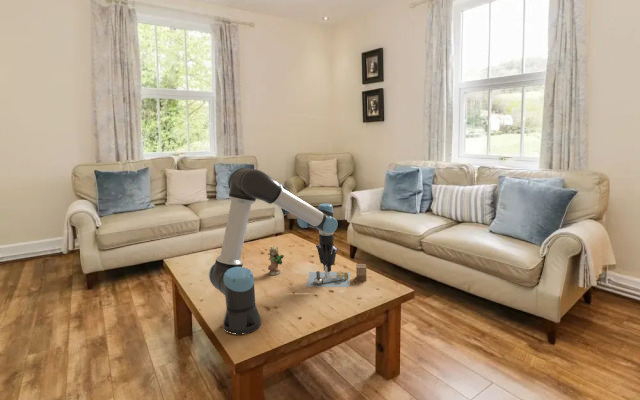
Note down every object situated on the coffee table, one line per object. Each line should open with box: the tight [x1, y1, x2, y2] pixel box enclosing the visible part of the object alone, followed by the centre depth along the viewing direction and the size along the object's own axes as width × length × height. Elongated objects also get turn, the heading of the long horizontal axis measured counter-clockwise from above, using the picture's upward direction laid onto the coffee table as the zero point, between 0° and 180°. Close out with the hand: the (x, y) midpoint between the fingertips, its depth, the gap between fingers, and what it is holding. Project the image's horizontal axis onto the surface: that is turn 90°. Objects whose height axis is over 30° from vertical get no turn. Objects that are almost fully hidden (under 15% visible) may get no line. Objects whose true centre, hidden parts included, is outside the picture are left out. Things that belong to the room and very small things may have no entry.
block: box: [355, 263, 367, 282], centre depth 192 cm, size 5×5×8 cm
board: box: [305, 270, 351, 288], centre depth 193 cm, size 19×22×7 cm
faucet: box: [314, 275, 343, 285], centre depth 190 cm, size 15×4×2 cm, turn 109°
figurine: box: [267, 246, 284, 276], centre depth 204 cm, size 9×8×15 cm
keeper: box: [336, 270, 348, 280], centre depth 192 cm, size 5×5×4 cm
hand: (327, 276), depth 194 cm, fingers closed
